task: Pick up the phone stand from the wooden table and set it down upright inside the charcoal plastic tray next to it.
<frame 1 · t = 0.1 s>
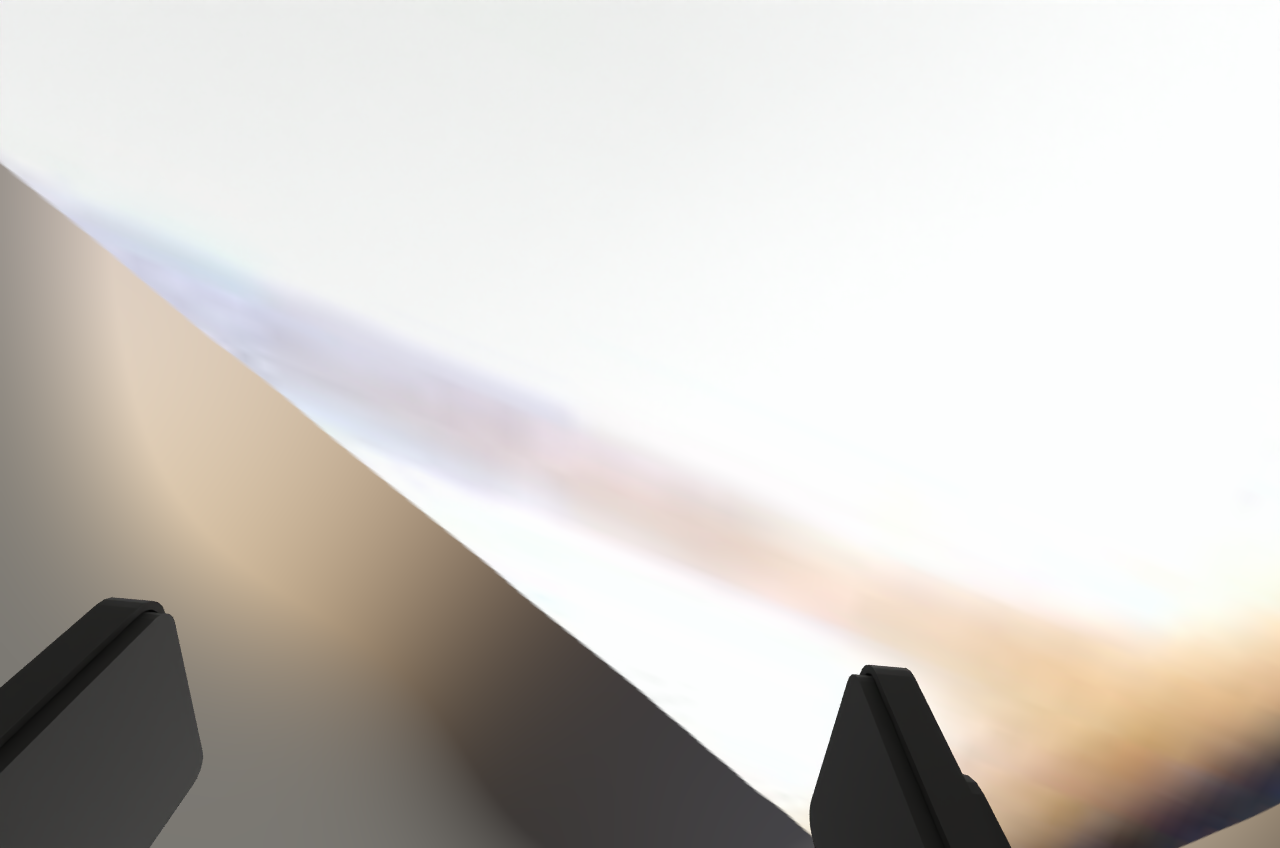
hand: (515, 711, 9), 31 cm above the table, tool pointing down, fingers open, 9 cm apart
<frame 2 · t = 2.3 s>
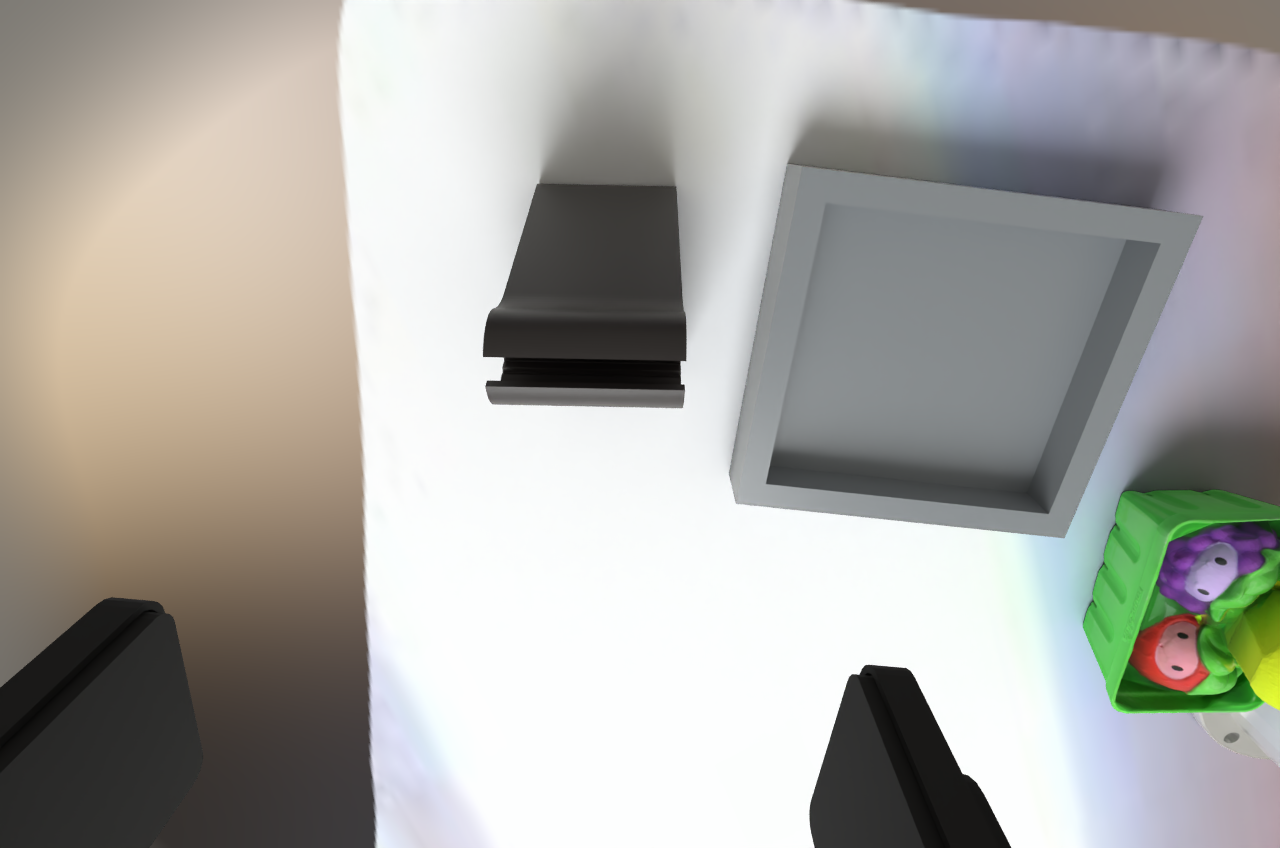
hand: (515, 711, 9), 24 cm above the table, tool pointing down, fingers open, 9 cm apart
tray: (921, 352, 32), on the table
fruit basket: (1155, 558, 37), on the table
phone stand: (607, 287, 31), on the table
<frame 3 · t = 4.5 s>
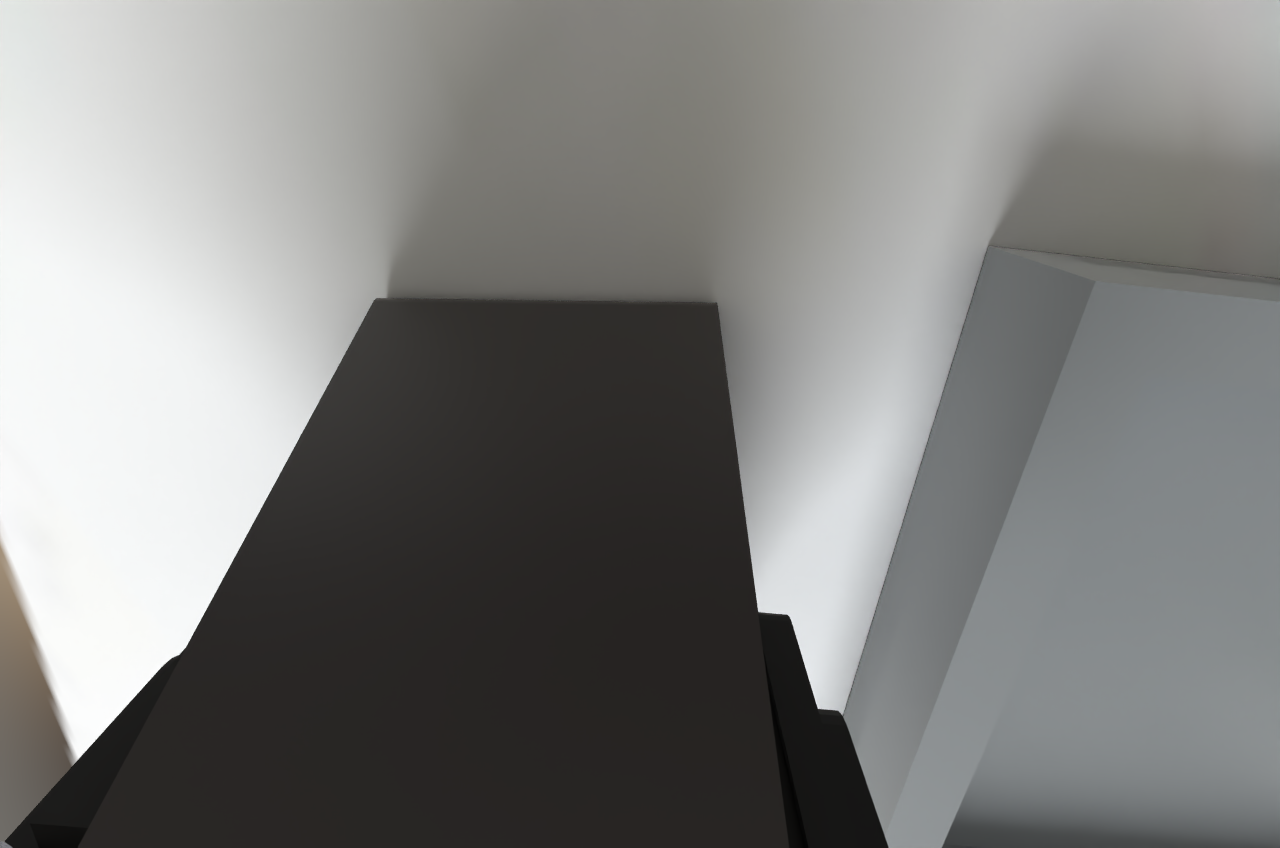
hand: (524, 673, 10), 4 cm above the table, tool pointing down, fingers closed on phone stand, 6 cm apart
tray: (1234, 630, 15), on the table
phone stand: (559, 507, 14), on the table, touching gripper
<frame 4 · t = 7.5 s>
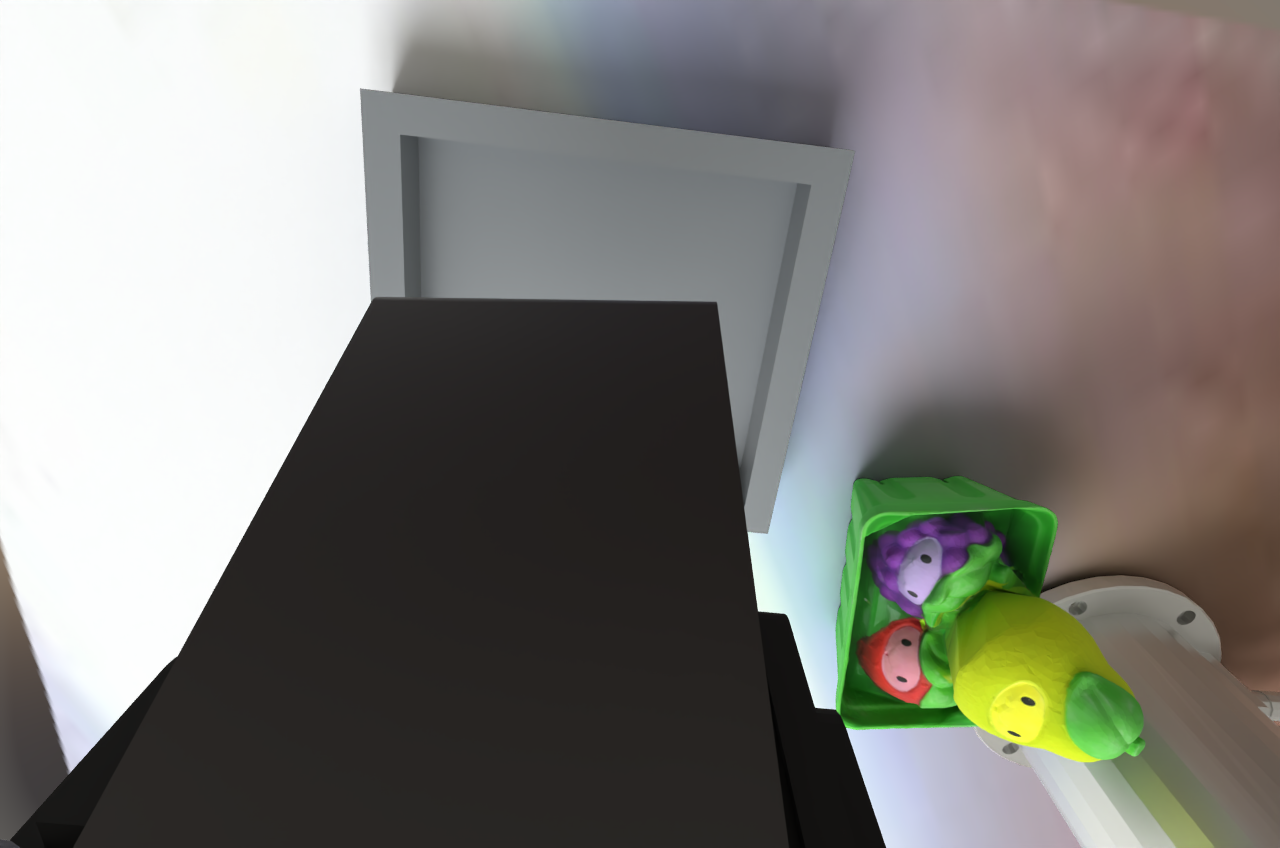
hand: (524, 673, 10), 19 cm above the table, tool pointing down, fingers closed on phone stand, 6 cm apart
tray: (596, 320, 27), on the table
fruit basket: (907, 553, 33), on the table
phone stand: (558, 506, 14), point 15 cm above the table, touching gripper
when the fingers open (6 cm above the table, at t = 10.5 s): phone stand drops 1 cm, resting on tray.
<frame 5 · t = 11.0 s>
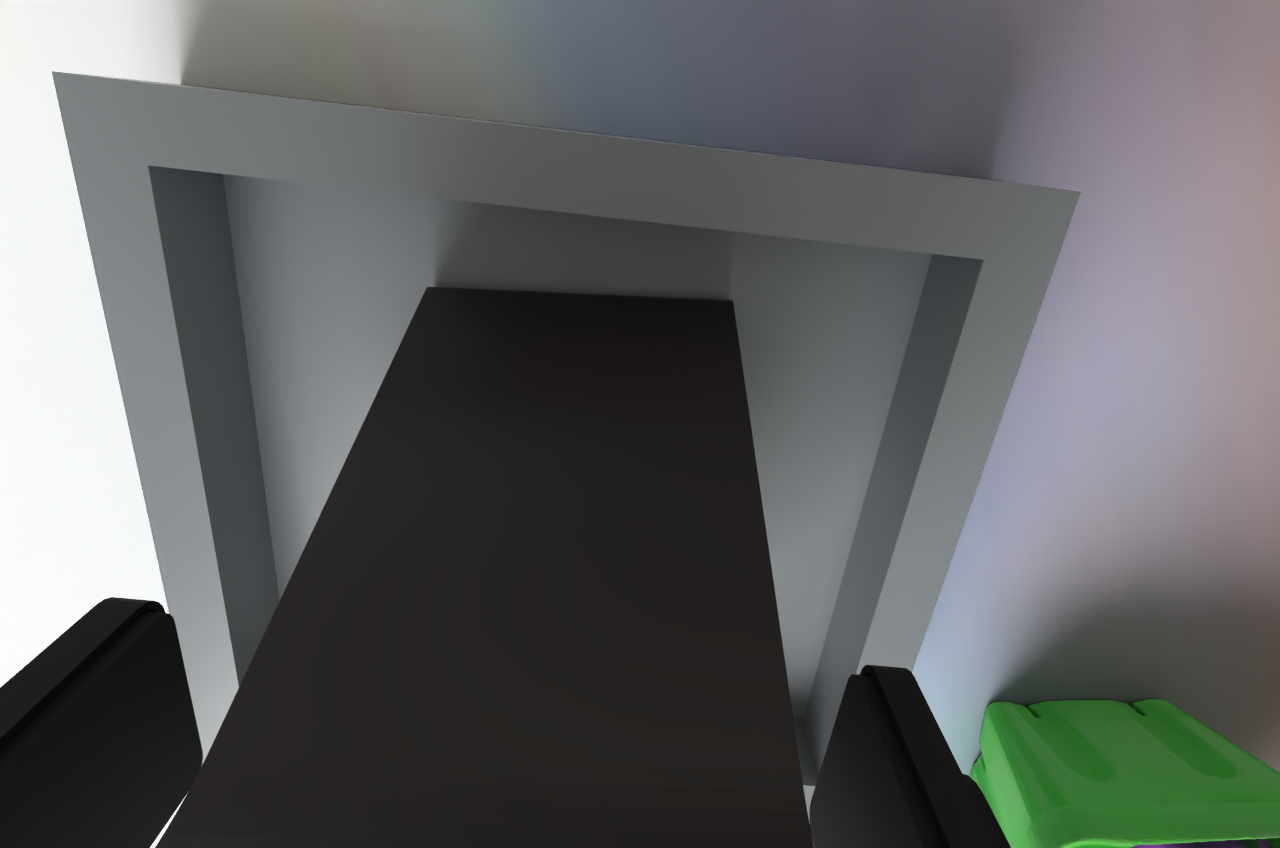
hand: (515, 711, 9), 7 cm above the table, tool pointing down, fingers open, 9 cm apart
tray: (569, 470, 16), on the table
fruit basket: (1059, 798, 21), on the table
phone stand: (581, 482, 15), point 1 cm above the table, touching tray
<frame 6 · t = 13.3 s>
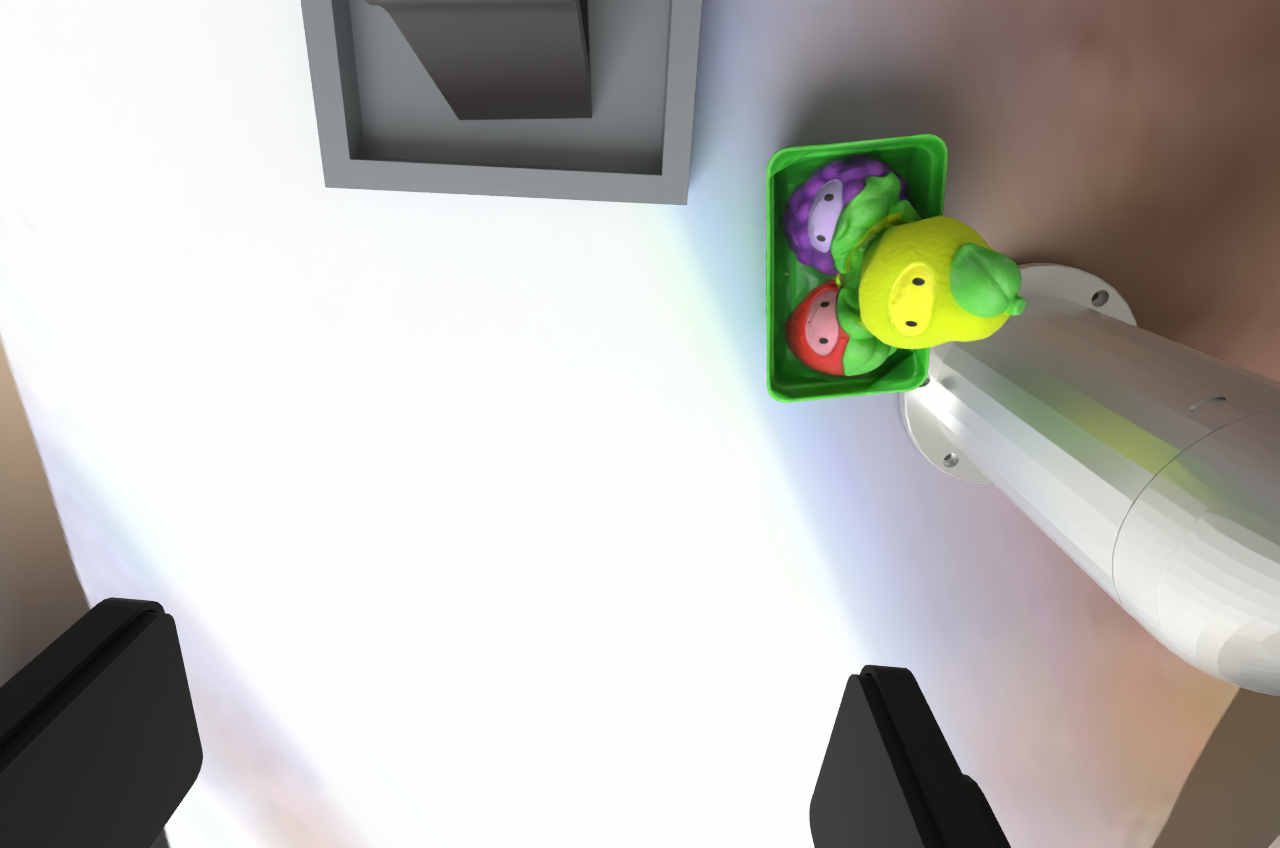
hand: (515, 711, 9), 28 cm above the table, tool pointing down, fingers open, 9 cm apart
tray: (513, 11, 30), on the table
fruit basket: (831, 256, 35), on the table
phone stand: (518, 4, 29), point 1 cm above the table, touching tray
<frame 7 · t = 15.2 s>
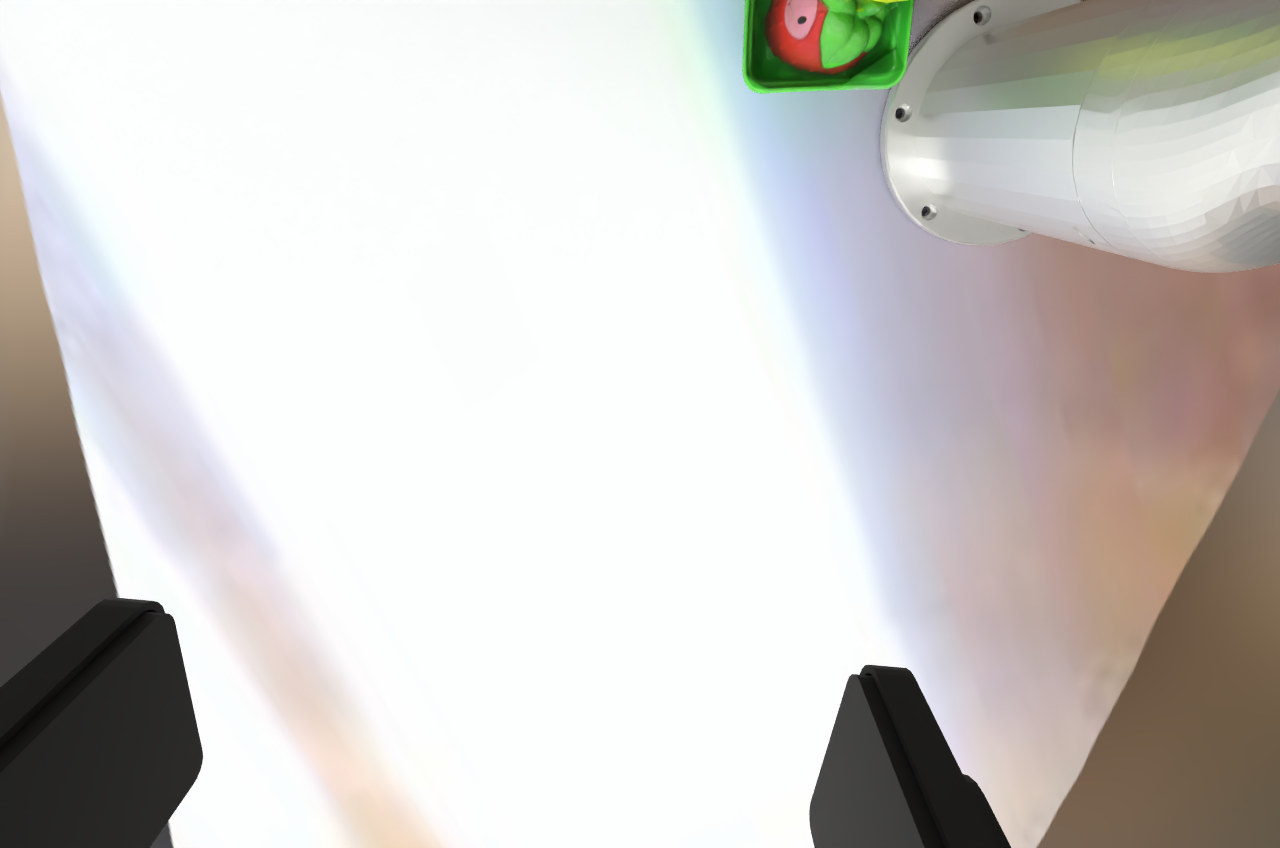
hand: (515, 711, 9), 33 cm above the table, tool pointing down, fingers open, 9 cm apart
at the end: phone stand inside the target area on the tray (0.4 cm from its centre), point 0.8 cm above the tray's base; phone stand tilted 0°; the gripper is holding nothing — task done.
